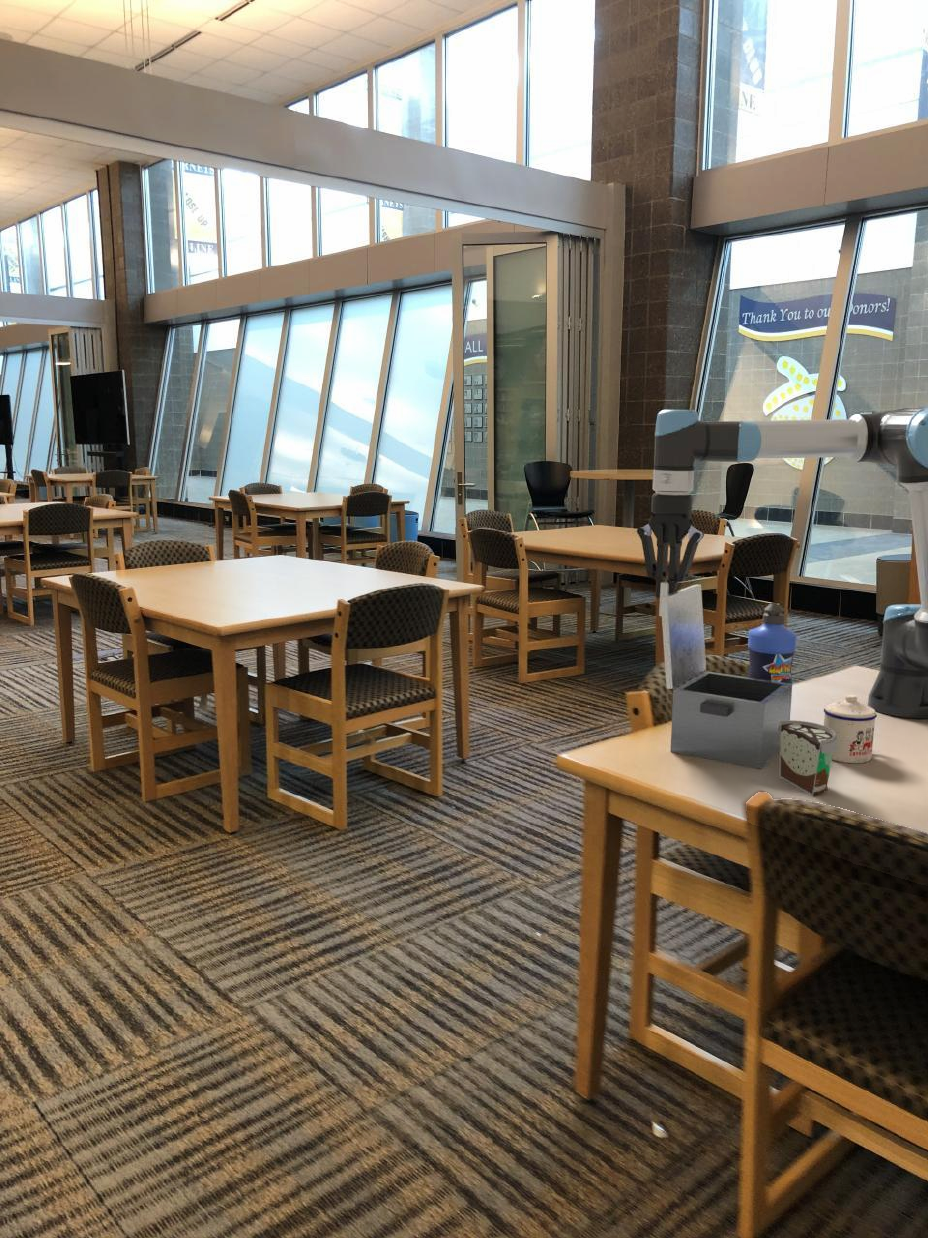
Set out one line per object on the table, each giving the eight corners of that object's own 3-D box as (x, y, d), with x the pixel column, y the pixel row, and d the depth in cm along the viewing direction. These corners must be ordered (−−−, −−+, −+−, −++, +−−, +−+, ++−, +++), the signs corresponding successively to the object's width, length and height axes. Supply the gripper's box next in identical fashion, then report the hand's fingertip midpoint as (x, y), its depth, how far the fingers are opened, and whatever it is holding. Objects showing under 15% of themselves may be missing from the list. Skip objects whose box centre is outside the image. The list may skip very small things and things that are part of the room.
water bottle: (799, 727, 197) (808, 607, 192) (758, 731, 194) (766, 609, 189) (774, 714, 205) (782, 599, 201) (734, 717, 203) (741, 600, 198)
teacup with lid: (855, 768, 173) (861, 705, 171) (810, 754, 180) (815, 694, 178) (890, 754, 181) (896, 694, 178) (845, 742, 188) (850, 684, 185)
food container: (850, 795, 160) (855, 738, 158) (818, 799, 159) (823, 741, 157) (804, 770, 172) (808, 716, 170) (774, 774, 170) (778, 719, 168)
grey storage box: (790, 741, 188) (794, 681, 186) (757, 772, 171) (761, 707, 169) (706, 726, 197) (709, 669, 195) (666, 754, 180) (669, 692, 178)
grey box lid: (701, 584, 191) (685, 584, 193) (666, 597, 177) (650, 597, 179) (706, 669, 194) (690, 669, 195) (672, 688, 179) (656, 688, 181)
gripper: (632, 492, 183) (626, 614, 188) (697, 495, 176) (689, 622, 181) (648, 490, 189) (642, 608, 194) (712, 493, 182) (704, 616, 187)
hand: (665, 615), depth 187 cm, fingers closed
